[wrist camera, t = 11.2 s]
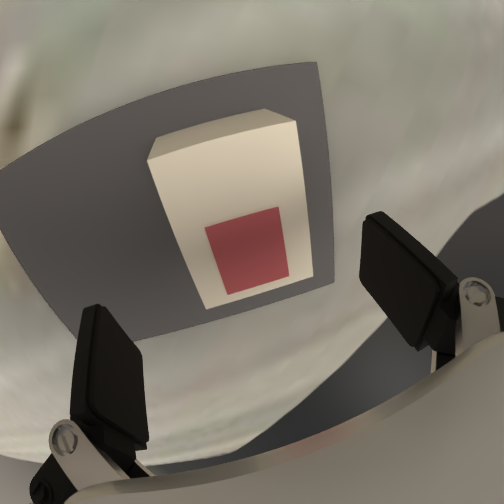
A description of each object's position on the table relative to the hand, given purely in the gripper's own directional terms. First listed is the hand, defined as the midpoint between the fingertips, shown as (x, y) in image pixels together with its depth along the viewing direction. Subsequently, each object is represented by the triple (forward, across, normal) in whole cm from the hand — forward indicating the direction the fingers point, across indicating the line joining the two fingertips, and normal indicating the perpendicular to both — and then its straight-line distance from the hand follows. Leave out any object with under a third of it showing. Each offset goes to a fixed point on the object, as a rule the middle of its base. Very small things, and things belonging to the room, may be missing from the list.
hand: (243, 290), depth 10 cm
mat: (+10, +4, +3) cm, 11 cm away
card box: (+10, -1, +1) cm, 10 cm away
